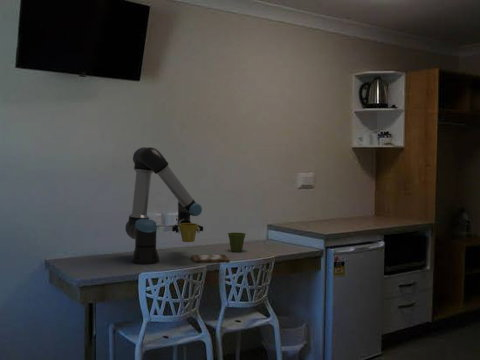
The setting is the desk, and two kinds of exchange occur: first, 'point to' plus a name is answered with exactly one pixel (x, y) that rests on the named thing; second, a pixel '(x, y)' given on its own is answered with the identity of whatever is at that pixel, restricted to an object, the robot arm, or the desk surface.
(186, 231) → the plant pot
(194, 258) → the base plate
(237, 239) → the plant pot
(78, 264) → the desk surface
